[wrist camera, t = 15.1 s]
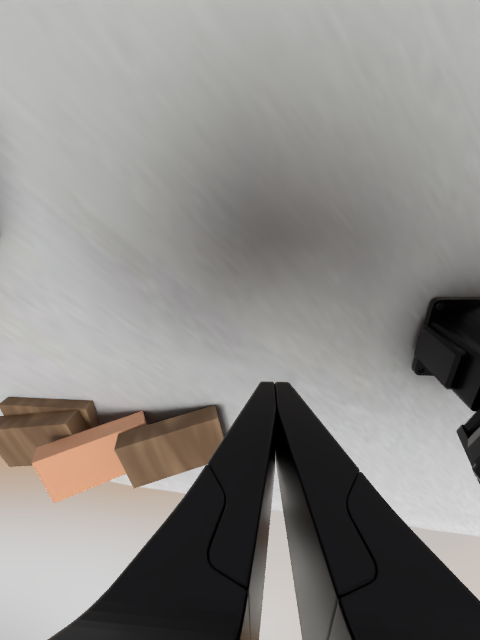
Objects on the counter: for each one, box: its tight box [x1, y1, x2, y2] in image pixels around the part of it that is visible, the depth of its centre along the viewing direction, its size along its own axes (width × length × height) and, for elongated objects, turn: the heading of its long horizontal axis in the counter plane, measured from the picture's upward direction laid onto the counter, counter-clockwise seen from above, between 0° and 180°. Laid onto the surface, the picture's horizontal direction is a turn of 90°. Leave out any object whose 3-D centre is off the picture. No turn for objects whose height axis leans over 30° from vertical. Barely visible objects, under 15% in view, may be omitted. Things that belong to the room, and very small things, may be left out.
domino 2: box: [0, 410, 89, 467], centre depth 27 cm, size 2×5×9 cm
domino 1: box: [0, 397, 100, 429], centre depth 28 cm, size 2×5×9 cm
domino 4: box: [114, 405, 224, 488], centre depth 25 cm, size 2×5×9 cm
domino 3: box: [32, 411, 147, 503], centre depth 25 cm, size 2×5×9 cm
